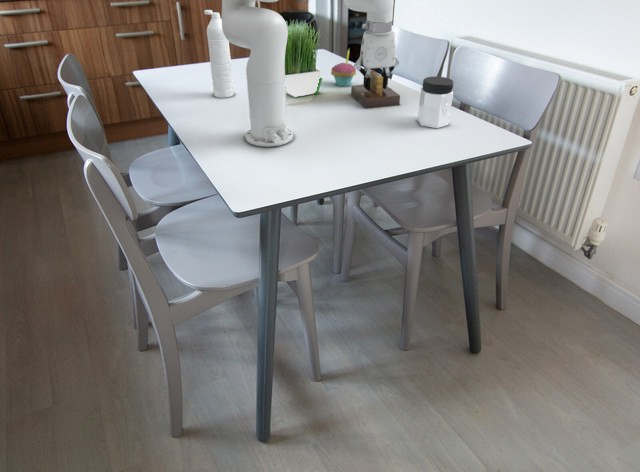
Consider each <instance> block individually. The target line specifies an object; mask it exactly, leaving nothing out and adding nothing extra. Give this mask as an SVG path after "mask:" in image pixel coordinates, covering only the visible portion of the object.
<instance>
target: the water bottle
mask: <svg viewBox="0 0 640 472" xmlns="http://www.w3.org/2000/svg"><path fill="white" fill-rule="evenodd" d="M203 13H204V15H207V16H209V15H211V19H210V21H209V23H208V25H207V27H206V38H207V45H208V55H209V62H210V63H209V64H210V72H211V81H212V91H213V96H214V97H216V98H221V99H226V98H231V97H233V96H234V94H235V90H234V81H233V71H232V58H231V57H232V56H231V49H230V42H229V41H228V40H227V39H226V37H225V35H224V33H223V30H222V17H221V15H220V12H215V11H214V12H213V10H212V9H205V10H203Z"/></svg>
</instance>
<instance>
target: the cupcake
mask: <svg viewBox="0 0 640 472" xmlns="http://www.w3.org/2000/svg"><path fill="white" fill-rule="evenodd" d="M350 49H351V48H350V47H349V48H348V50H347V53H346V60H345V62H340V63H337V64H335V65H333V66H332V67H331V71H330V75H332V76H333V77H334V80H335V84H336V86H339V87H349V86H350V85H351V83H352V80H353V78H354V76H356V74H357V69H356V68H355V67H354V65H352V64H351V63H349V58H350V51H351V50H350Z"/></svg>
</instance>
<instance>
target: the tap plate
mask: <svg viewBox="0 0 640 472" xmlns="http://www.w3.org/2000/svg"><path fill="white" fill-rule="evenodd" d="M350 87H351V89H350V95H351V96H352V97H353V98H354V99H355V100H356V101H358V103H360V104H361V105H362V106H363V107H364V108H365V109H374V108H384V107H392V106H393V107H394V106H400V103H401V95H400V94H398V93H397V92H396V91H394V90H393V89H392V87H390V86H388V85H387V87H386V89H384V88H382V93H380V94H376V93H375V92H374V91H373V90H371V89H370V90H366V89H365V88H364V86H363V84H356V85H351V86H350Z"/></svg>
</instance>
